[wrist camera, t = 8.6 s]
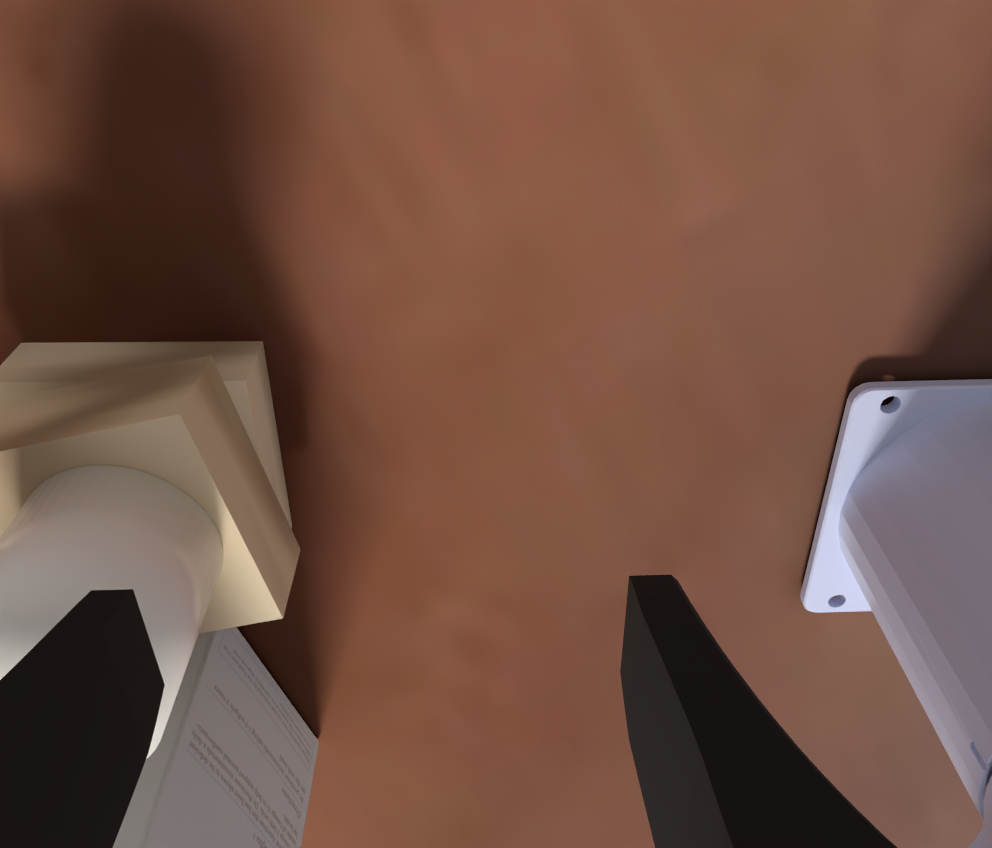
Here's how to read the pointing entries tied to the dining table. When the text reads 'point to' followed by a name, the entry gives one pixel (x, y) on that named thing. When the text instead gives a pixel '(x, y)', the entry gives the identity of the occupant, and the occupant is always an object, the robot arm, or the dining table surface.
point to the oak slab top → (163, 468)
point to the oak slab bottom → (97, 360)
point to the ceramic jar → (110, 563)
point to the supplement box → (225, 759)
